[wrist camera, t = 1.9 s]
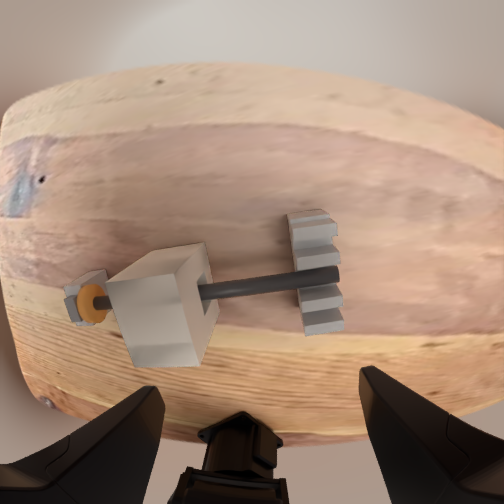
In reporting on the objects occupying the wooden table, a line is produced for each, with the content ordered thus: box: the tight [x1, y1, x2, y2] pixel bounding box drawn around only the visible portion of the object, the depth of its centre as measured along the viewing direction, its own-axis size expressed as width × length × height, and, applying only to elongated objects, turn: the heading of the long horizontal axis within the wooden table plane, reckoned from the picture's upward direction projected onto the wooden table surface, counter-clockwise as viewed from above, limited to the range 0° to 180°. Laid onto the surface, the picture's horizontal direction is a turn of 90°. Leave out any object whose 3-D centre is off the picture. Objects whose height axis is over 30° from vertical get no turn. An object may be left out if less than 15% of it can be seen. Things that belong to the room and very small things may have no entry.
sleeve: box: [105, 242, 220, 367], centre depth 17 cm, size 4×5×7 cm
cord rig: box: [63, 209, 344, 336], centre depth 19 cm, size 19×7×5 cm, turn 99°
